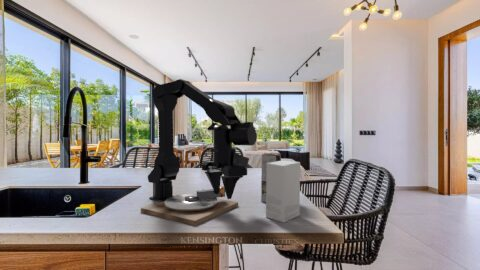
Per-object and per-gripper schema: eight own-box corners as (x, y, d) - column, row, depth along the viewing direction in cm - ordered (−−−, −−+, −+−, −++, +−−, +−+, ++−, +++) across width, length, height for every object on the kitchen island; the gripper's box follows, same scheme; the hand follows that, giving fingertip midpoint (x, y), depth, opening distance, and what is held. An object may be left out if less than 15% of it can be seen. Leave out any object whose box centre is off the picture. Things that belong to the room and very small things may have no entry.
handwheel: (172, 214, 73) (172, 199, 73) (159, 200, 87) (159, 187, 87) (235, 205, 82) (235, 191, 82) (214, 194, 96) (214, 182, 96)
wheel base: (140, 212, 80) (140, 208, 80) (188, 197, 98) (188, 193, 98) (195, 225, 69) (195, 220, 69) (238, 205, 87) (238, 202, 87)
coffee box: (279, 203, 91) (280, 155, 90) (260, 202, 92) (261, 154, 92) (281, 196, 100) (281, 153, 99) (263, 195, 101) (264, 152, 100)
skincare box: (282, 211, 82) (283, 159, 81) (301, 216, 77) (302, 161, 77) (264, 217, 76) (265, 162, 75) (283, 223, 71) (284, 164, 71)
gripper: (262, 145, 79) (262, 199, 79) (230, 144, 95) (230, 188, 95) (229, 146, 73) (229, 204, 73) (201, 144, 89) (201, 192, 89)
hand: (223, 196), depth 82 cm, fingers open, 7 cm apart
